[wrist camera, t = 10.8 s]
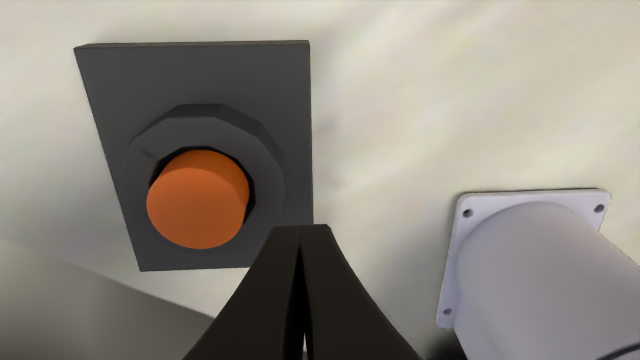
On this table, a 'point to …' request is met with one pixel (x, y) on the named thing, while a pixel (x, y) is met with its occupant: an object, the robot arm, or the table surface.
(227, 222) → the button
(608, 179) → the table surface
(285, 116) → the block
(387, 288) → the table surface
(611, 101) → the table surface
